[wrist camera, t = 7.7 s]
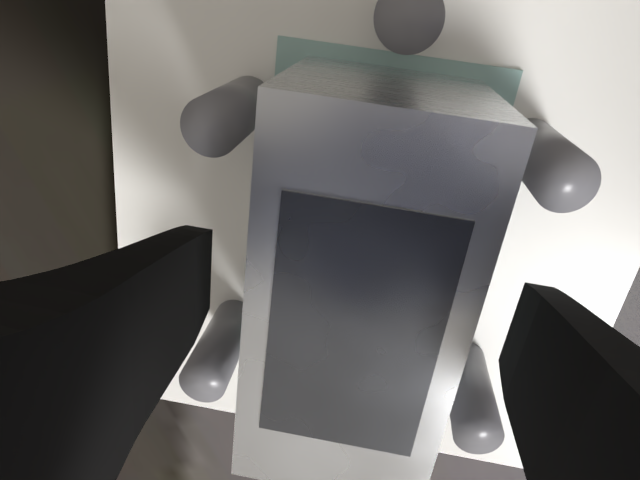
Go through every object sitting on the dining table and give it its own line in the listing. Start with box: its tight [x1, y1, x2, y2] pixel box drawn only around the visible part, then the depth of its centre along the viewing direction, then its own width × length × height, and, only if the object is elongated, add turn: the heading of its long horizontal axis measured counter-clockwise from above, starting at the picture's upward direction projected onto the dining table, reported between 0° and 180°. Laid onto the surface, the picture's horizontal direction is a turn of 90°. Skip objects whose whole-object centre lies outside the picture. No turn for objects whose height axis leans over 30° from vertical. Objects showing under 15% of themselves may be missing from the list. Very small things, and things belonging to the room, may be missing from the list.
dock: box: [105, 0, 640, 468], centre depth 13 cm, size 14×14×4 cm
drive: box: [231, 55, 538, 480], centre depth 11 cm, size 4×8×5 cm, turn 173°
